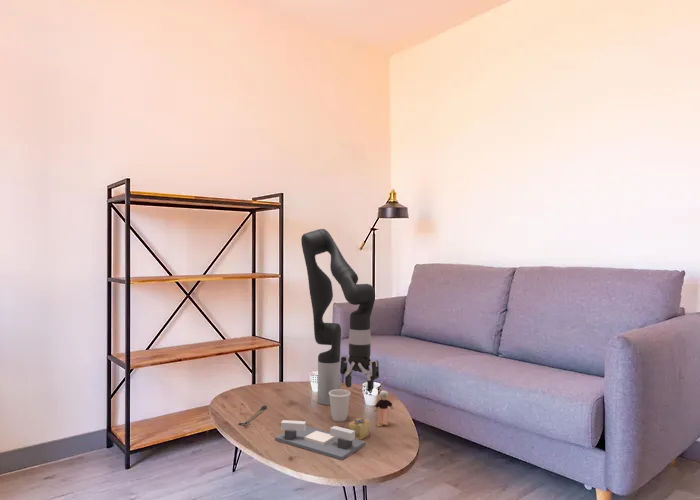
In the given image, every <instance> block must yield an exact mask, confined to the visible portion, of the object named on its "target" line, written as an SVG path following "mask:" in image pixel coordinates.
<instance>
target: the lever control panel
mask: <svg viewBox="0 0 700 500" xmlns="http://www.w3.org/2000/svg"><path fill="white" fill-rule="evenodd" d="M329 429H330V431H327V430H323V429H320V428H316V427H312V426H309V425H307V421H305V420H304V421H302V420H301V421H300V420H286V419H283V420H281V422H280V430H281V431H284V432H283V433H281V434H279V435H276V436H275V437H274V441H277V442H280V443H284V444H285V445H290V446H294V447H296V448H301V449H302V450H303V449H304V450H307V451H309V452H314V453H317V454H320V455H324V456H326V457H330V458H333V459H335V460H336V459H337V460H341V461H343V460H344V459H347V458H348V457H349V456H350V455H353V454H354V453H355V452H357V451H358V450H360V449H361V448H363V447H364V446H366V441H365V440H363V439H362V440H358V439H355V431H353V430H349V428H345V427H341V426H337V425H333V426H331V427H330V428H329Z"/></svg>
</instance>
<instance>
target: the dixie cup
mask: <svg viewBox="0 0 700 500" xmlns="http://www.w3.org/2000/svg"><path fill="white" fill-rule="evenodd" d="M329 396H330V405H329V406H330V414H331V420H332V421H334V422H345V421H347V418H348V413H349V404H350V398H351V397H350V396H351V391H349V390H347V389H342V388H341V389H337V390H332V391H330V392H329Z"/></svg>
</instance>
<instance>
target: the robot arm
mask: <svg viewBox="0 0 700 500" xmlns="http://www.w3.org/2000/svg"><path fill="white" fill-rule="evenodd" d="M300 241H301V248H302V249H301V250H302V253H303V258H304V261H305V266H306V272H307V273H306V274H307V279H308V289H309V296H310V302H311V308H312V316H313V333H314V339H315V343H317V344H318V345H322V346H323V345H324V346H331V348H330V349H329V350H325V351H324V352H320V353H319V354H318V357H317V403H318V404H320V405H324V406H331V405H330V396H329V392H330V391H332V390H337V389H342V388H341V386H342V385H341V382H342V381H341V379H342V378H341V376H340V375H343V376H345V378H344V379H345V384H344V385H345V386H346V388H351V387H352V374H353V373H354V372H358V373H363V375H364V376H365V377H366V379H367V385H366V386H367V387H366V388H367V390H366V391H367V392H368V393H369V392H372V391H373V389H374V388H375V386H374V382H375V380H378V379H379V378H380V367H379V361H378V359H376V360H371V351H372V350H371V348H372V347H371V342H372V341H371V340H372V338H371V337H372V335H371V315H372V311H373V308H374V306H375V305H374V304H375V300H376V290H375V289H374V287H373V285H372V284H370V283H358V281H359V277H358V274H357V272H355V270H354V269H353V268H352V267H351V265H349V263H348V262H347V260H346V259H345V258H344V256H343V255H342V253H341V251H340V249H339V247H338V246H337V244H336V242H335V240H334V239H333V237H332V235H331V234H330V232H329V231H328V230H327V229H325V228H319V229H315V230H312V231H309V232H306V233H303V234H302V236H301V239H300ZM324 253H328V254H329V256H330V264H329V265H330V272H331V275H332V277H334V279H335V280H336V282H337V283H338V285H340V288H341V291H342V292H343V296H344V299H345V300H346V302H348V303H349V304H351V305H354V306H357V305H358V308H357V309H356V310H354V311H352V312H351V313H350V316H349V331H348V333H349V334H348V356H349V357H348V356H347V355H345V356H344V355H343V356H342V357H341V344H342V343H341V342H342V328H341V325H340V323H336V322H324V319H323V318H324V314H325V312H326V311H327V309H328V307H330V305H331V303H332V301H333V297H334V294H333V293H334V292H333V284H332V281H331V279H330V277H329V276H328V275H327V274H326V273H325V272H324V271H323V270H322V269H321V267H320V266H319V265H318V263H317V259H316V256H317V255H319V254H320V255H321V254H324ZM348 363H349V366H348Z"/></svg>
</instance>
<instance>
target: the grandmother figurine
mask: <svg viewBox="0 0 700 500" xmlns="http://www.w3.org/2000/svg"><path fill="white" fill-rule="evenodd" d="M379 397H380V399H378V401H377V402H376V404H375V405H374V408H373V412H377V410H378V414H377V423H376V426H377V427H383V426H384V427H388V426H389V423H388V420H389V408H388V407H390V410H394V406H393V403H392V402H391V400H388V397H389V393H388V391H386V390H381V391H380V392H379Z"/></svg>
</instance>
